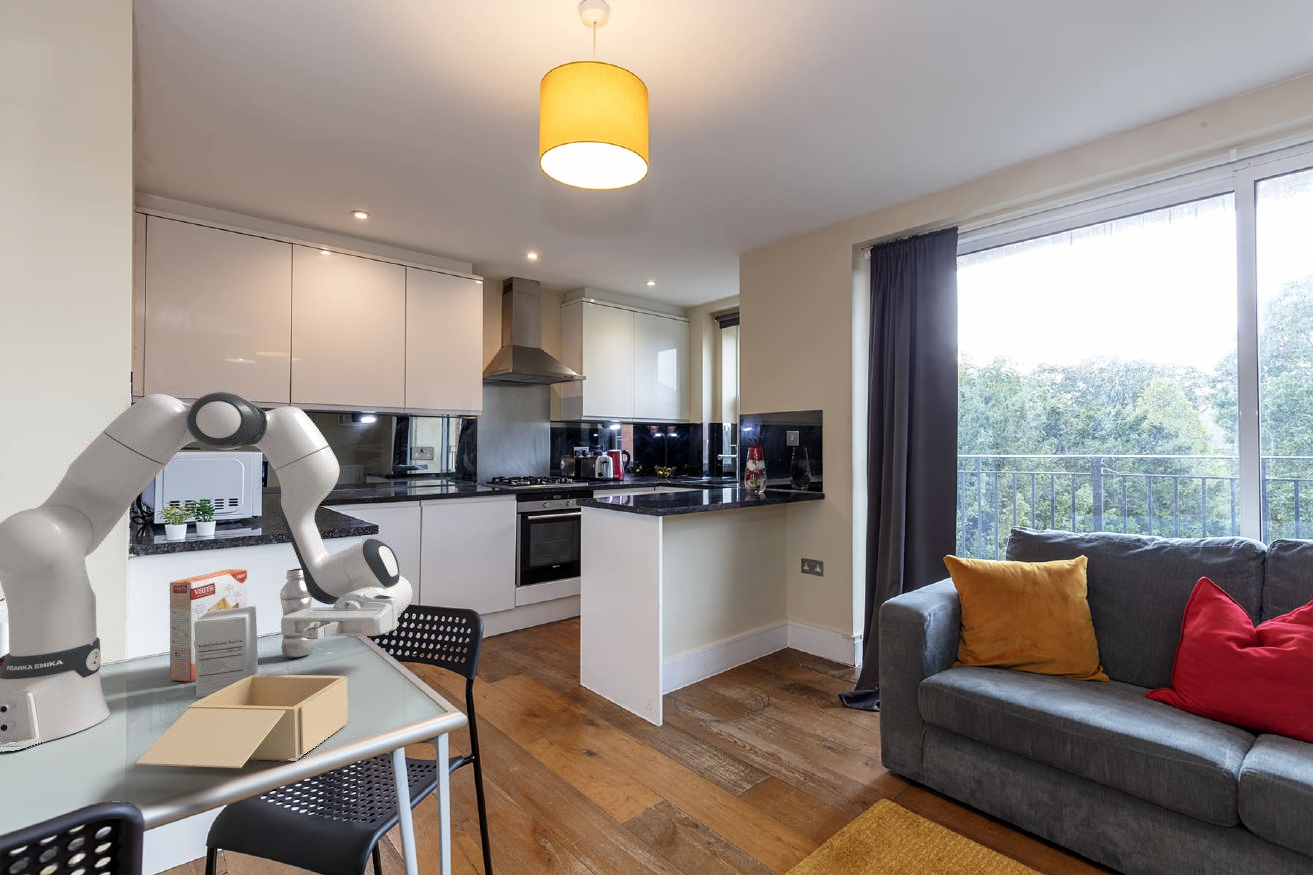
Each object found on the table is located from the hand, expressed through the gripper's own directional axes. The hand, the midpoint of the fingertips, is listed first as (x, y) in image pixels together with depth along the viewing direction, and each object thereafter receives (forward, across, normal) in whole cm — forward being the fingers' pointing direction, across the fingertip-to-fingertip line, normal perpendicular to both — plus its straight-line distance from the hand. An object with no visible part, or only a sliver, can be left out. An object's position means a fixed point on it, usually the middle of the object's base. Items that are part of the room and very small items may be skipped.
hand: (310, 634), depth 110 cm
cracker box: (-20, -39, +14) cm, 46 cm away
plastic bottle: (-29, -25, +14) cm, 41 cm away
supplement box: (-12, -27, +14) cm, 33 cm away
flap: (+16, 0, +6) cm, 17 cm away
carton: (+9, 0, +14) cm, 17 cm away
